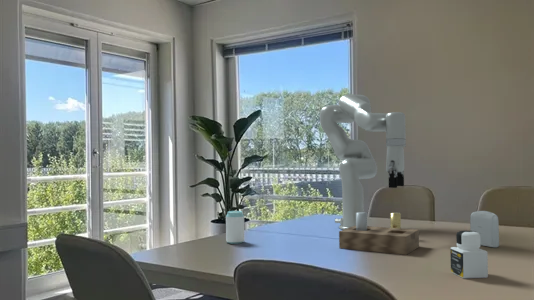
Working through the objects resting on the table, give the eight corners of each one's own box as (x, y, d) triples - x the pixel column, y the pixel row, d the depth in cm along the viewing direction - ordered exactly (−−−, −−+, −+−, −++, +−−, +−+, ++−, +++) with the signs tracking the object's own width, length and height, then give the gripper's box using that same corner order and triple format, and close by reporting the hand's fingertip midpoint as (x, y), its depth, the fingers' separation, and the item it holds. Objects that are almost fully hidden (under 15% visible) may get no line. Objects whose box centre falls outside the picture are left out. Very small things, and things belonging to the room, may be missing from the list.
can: (247, 241, 186) (247, 210, 186) (239, 244, 179) (238, 212, 180) (231, 240, 189) (231, 210, 189) (222, 243, 182) (222, 212, 183)
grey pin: (354, 240, 173) (354, 213, 173) (358, 238, 176) (358, 212, 177) (365, 241, 171) (364, 213, 171) (369, 239, 174) (368, 212, 174)
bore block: (339, 248, 170) (339, 231, 170) (355, 240, 183) (355, 225, 183) (406, 254, 157) (406, 236, 157) (419, 246, 171) (418, 229, 171)
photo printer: (468, 243, 175) (468, 210, 175) (476, 242, 177) (476, 209, 177) (492, 248, 166) (492, 212, 166) (501, 247, 168) (500, 212, 168)
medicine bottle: (450, 272, 134) (449, 229, 134) (474, 271, 134) (473, 228, 134) (462, 278, 126) (462, 233, 127) (488, 277, 127) (487, 233, 127)
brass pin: (389, 238, 187) (388, 213, 187) (392, 237, 190) (391, 212, 190) (399, 239, 185) (398, 214, 185) (402, 238, 188) (401, 212, 188)
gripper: (392, 144, 197) (393, 185, 197) (379, 143, 182) (380, 188, 182) (410, 143, 193) (411, 185, 193) (399, 143, 178) (400, 188, 178)
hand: (396, 186), depth 188 cm, fingers open, 9 cm apart
